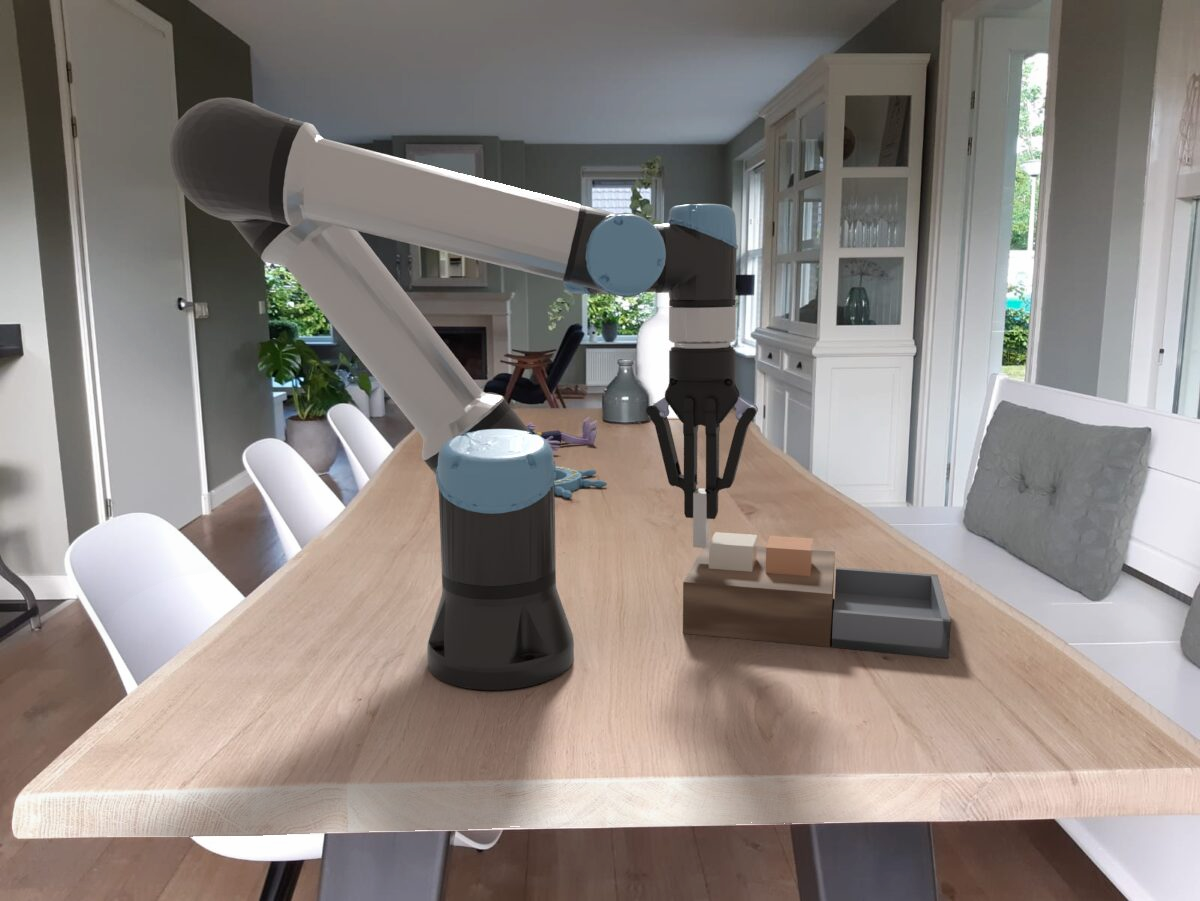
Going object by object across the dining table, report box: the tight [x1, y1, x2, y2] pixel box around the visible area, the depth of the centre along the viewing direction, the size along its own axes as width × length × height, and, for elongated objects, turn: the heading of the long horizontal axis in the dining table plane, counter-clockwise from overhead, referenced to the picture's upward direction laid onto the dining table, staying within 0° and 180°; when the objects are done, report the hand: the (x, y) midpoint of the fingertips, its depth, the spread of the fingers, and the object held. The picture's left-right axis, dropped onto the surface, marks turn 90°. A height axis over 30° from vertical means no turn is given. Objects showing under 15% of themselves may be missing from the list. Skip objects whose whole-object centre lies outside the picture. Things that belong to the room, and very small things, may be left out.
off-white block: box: [709, 531, 758, 572], centre depth 108 cm, size 5×5×3 cm
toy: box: [525, 416, 598, 452], centre depth 219 cm, size 26×9×30 cm
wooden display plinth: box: [682, 542, 836, 648], centre depth 108 cm, size 16×16×6 cm
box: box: [831, 566, 952, 659], centre depth 104 cm, size 16×12×4 cm
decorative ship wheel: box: [554, 465, 608, 499], centre depth 178 cm, size 30×3×30 cm
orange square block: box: [765, 535, 814, 576], centre depth 106 cm, size 5×5×3 cm
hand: (701, 544), depth 109 cm, fingers closed
